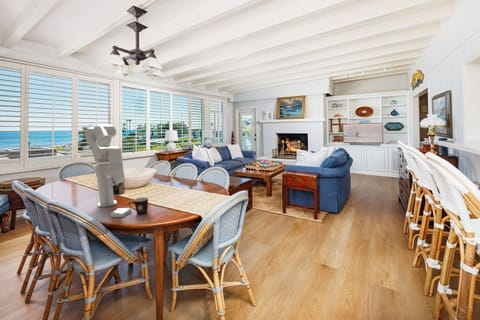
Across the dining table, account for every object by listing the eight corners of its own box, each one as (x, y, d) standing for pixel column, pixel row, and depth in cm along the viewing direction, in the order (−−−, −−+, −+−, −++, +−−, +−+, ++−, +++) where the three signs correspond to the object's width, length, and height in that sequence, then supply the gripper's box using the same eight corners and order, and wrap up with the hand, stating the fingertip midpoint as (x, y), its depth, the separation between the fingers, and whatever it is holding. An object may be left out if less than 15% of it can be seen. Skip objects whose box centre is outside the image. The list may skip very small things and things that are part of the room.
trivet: (110, 216, 149) (110, 213, 148) (118, 211, 158) (118, 208, 157) (123, 217, 148) (123, 213, 148) (131, 211, 157) (130, 208, 157)
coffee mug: (151, 211, 156) (150, 197, 155) (143, 216, 148) (142, 201, 147) (137, 210, 160) (136, 196, 158) (128, 215, 152) (127, 200, 150)
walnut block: (113, 195, 149) (112, 186, 148) (117, 192, 153) (117, 184, 153) (120, 195, 148) (119, 186, 147) (125, 192, 153) (124, 184, 152)
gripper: (118, 164, 157) (121, 189, 159) (102, 168, 140) (105, 197, 143) (129, 164, 156) (131, 189, 159) (113, 168, 140) (116, 197, 142)
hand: (119, 193), depth 151 cm, fingers closed on walnut block, 5 cm apart
